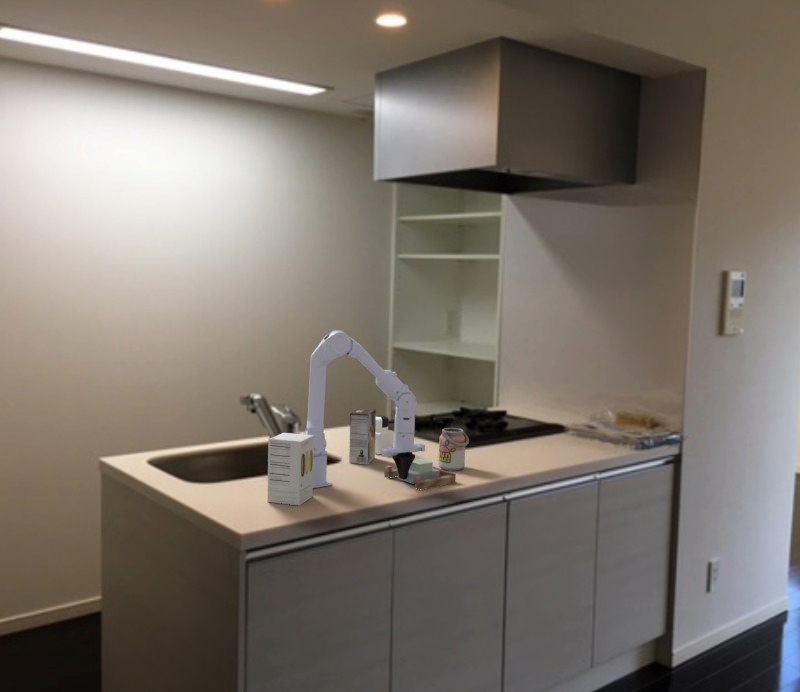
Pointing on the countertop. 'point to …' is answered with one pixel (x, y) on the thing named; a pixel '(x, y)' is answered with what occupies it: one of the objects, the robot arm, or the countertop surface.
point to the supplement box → (290, 468)
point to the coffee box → (362, 436)
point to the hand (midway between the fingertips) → (402, 478)
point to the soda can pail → (452, 449)
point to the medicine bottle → (383, 434)
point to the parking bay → (428, 483)
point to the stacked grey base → (421, 471)
